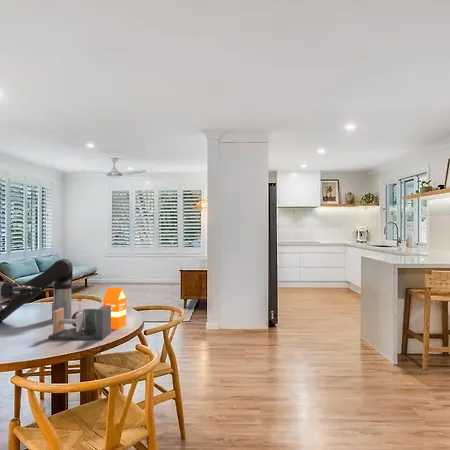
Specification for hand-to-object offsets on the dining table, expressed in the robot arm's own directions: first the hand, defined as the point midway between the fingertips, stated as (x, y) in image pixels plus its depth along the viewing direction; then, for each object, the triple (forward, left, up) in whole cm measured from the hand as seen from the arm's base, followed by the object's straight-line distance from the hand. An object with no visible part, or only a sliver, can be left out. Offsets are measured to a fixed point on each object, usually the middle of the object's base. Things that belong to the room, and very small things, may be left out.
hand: (40, 290), depth 184 cm
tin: (+13, +20, -22) cm, 32 cm away
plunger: (+13, 0, -19) cm, 23 cm away
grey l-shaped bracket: (+18, +1, -22) cm, 28 cm away
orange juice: (+29, +19, -22) cm, 41 cm away
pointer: (+18, 0, -19) cm, 26 cm away
